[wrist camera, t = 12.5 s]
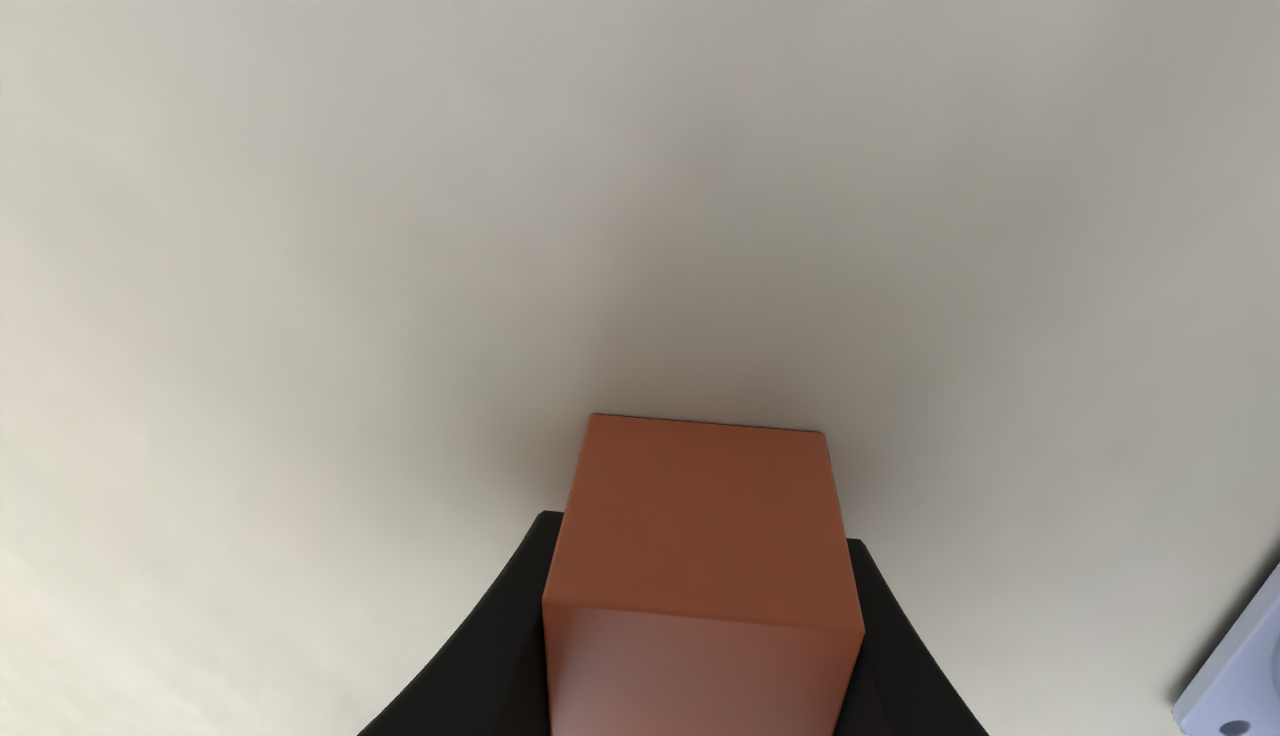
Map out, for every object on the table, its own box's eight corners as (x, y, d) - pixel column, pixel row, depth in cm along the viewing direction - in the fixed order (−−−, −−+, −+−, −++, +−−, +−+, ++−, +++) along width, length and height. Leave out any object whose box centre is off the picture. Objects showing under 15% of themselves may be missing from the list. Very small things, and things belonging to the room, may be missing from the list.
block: (825, 431, 12) (868, 632, 8) (790, 591, 14) (812, 803, 11) (590, 412, 12) (540, 599, 9) (591, 572, 14) (551, 773, 11)
